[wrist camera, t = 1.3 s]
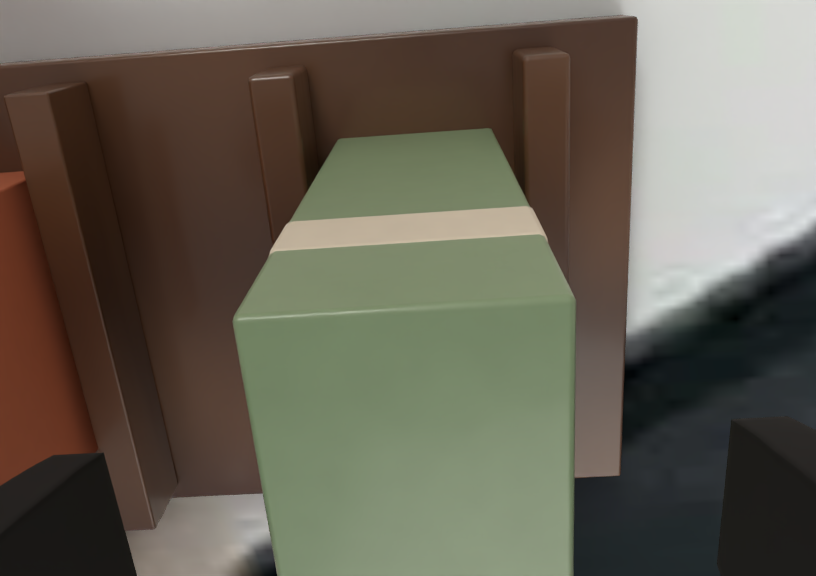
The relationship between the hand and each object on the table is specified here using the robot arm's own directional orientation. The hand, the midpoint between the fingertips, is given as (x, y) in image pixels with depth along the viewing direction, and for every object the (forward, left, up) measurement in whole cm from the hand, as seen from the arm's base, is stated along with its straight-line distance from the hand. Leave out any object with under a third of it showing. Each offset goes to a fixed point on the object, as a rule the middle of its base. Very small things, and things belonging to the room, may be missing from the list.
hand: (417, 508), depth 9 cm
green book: (0, 0, -7) cm, 7 cm away
